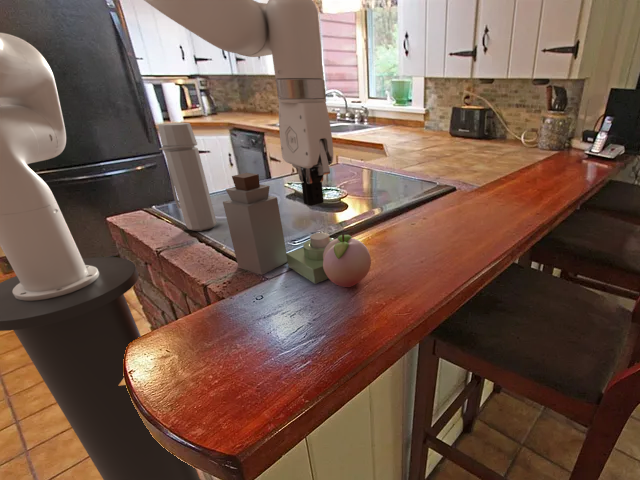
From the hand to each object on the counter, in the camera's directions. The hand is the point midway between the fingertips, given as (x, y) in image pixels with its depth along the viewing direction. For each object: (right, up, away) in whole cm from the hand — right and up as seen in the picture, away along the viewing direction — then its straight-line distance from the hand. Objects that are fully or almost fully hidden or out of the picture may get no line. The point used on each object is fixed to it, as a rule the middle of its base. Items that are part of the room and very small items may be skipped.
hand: (313, 203), depth 66 cm
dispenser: (0, -12, +6) cm, 13 cm away
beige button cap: (0, -8, +4) cm, 9 cm away
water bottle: (-36, -2, +28) cm, 46 cm away
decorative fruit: (+7, -15, -1) cm, 17 cm away
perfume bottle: (-12, -11, +7) cm, 18 cm away
